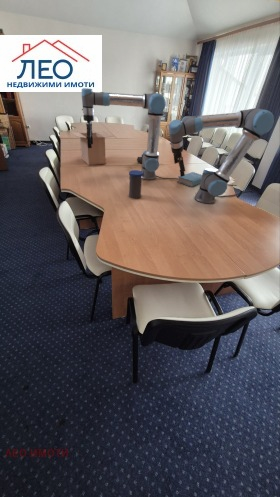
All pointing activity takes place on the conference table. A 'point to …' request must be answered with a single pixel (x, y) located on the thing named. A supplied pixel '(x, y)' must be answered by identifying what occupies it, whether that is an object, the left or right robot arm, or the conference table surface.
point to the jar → (135, 187)
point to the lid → (136, 173)
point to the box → (93, 147)
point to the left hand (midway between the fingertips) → (90, 146)
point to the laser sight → (140, 159)
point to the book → (190, 179)
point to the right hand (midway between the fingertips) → (179, 169)
